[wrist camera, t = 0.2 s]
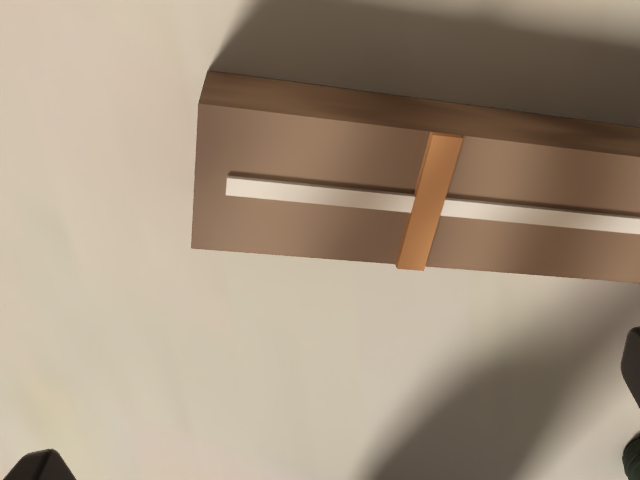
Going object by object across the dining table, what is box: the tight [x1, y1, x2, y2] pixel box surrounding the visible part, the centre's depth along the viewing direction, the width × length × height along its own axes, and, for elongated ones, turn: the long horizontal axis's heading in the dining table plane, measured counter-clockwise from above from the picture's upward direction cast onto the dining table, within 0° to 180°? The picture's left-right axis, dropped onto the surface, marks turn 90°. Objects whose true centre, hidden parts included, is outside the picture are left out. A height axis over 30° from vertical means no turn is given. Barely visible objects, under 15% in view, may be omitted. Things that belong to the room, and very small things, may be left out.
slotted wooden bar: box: [191, 71, 640, 283], centre depth 21 cm, size 26×5×4 cm, turn 81°
